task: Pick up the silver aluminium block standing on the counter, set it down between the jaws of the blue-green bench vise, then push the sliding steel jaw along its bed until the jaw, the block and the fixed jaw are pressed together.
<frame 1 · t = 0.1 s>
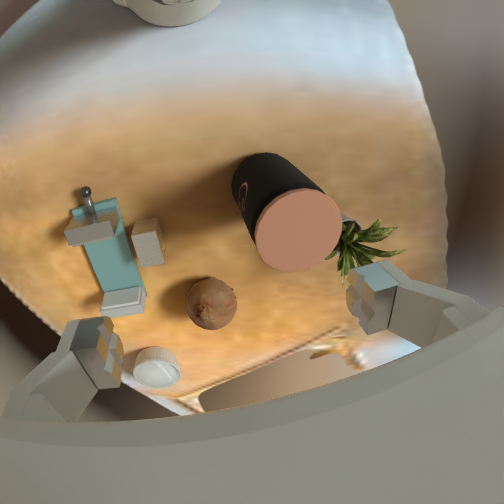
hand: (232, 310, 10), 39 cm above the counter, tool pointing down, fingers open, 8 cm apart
ramekin: (156, 357, 66), on the counter
coffee jar: (262, 181, 49), on the counter
onion: (208, 288, 58), on the counter
jaw: (88, 213, 41), point 4 cm above the counter, slide at 0.0 cm
block: (150, 234, 50), on the counter
vise: (111, 253, 50), on the counter
house plant: (331, 226, 57), on the counter
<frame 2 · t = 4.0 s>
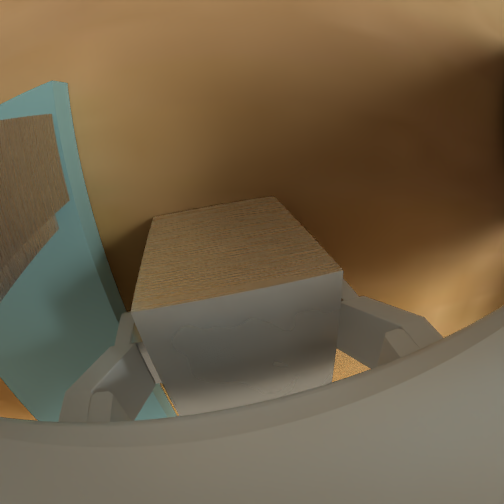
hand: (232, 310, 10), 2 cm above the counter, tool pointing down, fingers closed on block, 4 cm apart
block: (226, 283, 11), on the counter, touching gripper
vise: (60, 349, 11), on the counter
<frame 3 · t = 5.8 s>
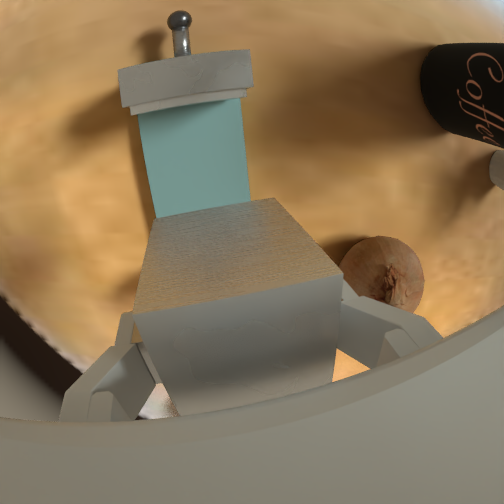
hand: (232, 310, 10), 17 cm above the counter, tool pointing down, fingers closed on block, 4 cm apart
coffee jar: (446, 87, 25), on the counter
onion: (360, 261, 33), on the counter
jaw: (182, 52, 16), point 4 cm above the counter, slide at 0.0 cm
block: (226, 284, 11), point 16 cm above the counter, touching gripper
vise: (197, 174, 25), on the counter
house plant: (496, 175, 32), on the counter
when the fingers open (4 cm above the counter, at t = 7.7 s): block drops 1 cm, resting on vise.
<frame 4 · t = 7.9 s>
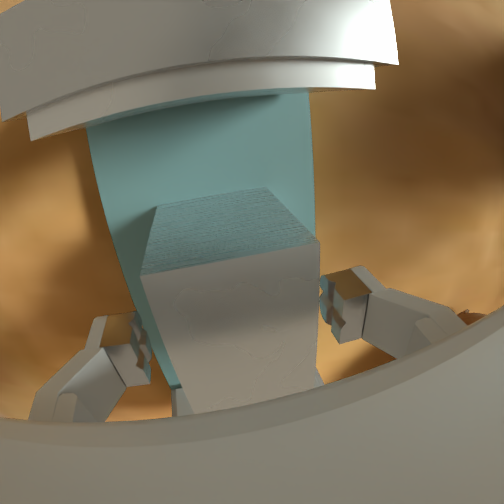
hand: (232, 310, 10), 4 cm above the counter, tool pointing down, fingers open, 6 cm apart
block: (223, 266, 12), point 1 cm above the counter, touching vise
vise: (216, 244, 13), on the counter
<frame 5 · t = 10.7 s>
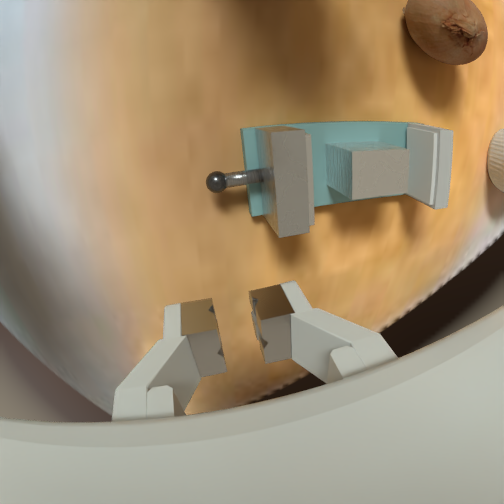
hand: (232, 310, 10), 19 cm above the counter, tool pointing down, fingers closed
ramekin: (499, 156, 33), on the counter
onion: (420, 28, 23), on the counter
jaw: (256, 181, 23), point 4 cm above the counter, slide at 0.0 cm
block: (353, 161, 27), point 1 cm above the counter, touching vise
vise: (343, 160, 28), on the counter
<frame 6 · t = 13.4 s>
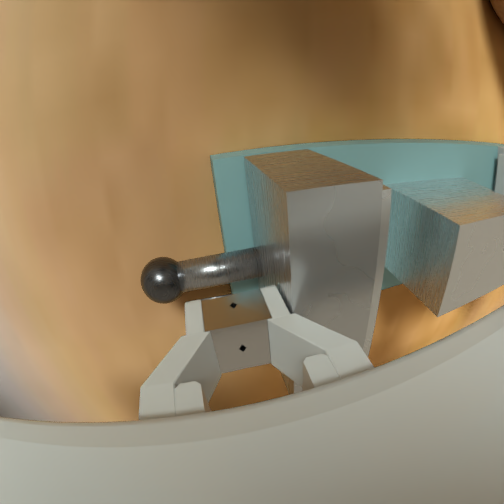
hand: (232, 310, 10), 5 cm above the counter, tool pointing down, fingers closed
onion: (498, 2, 9), on the counter
jaw: (247, 288, 10), point 4 cm above the counter, slide at 0.1 cm, touching gripper
block: (423, 215, 14), point 1 cm above the counter, touching vise
vise: (404, 210, 15), on the counter
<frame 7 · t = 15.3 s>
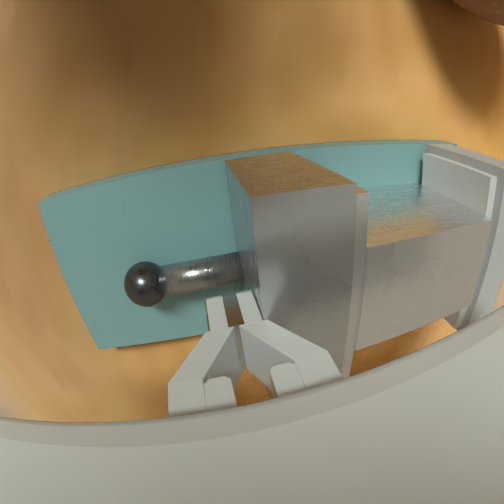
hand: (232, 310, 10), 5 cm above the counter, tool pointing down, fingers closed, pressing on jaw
jaw: (225, 294, 10), point 4 cm above the counter, slide at 6.9 cm, touching block, gripper
block: (365, 228, 13), point 1 cm above the counter, touching jaw, vise
vise: (277, 234, 14), on the counter
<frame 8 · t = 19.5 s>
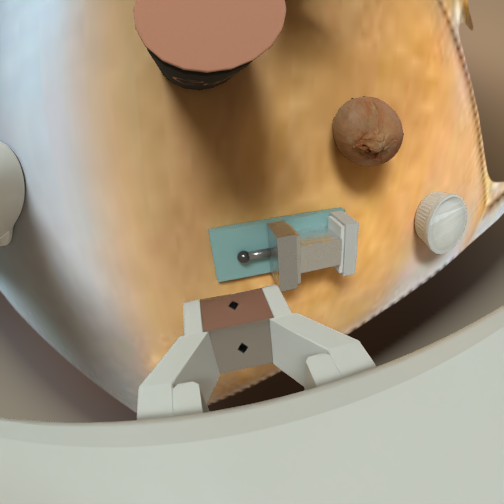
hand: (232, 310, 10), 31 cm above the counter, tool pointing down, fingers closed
ramekin: (430, 214, 49), on the counter
coffee jar: (199, 51, 31), on the counter
onion: (351, 127, 39), on the counter
jaw: (267, 258, 41), point 4 cm above the counter, slide at 6.9 cm, touching block
block: (308, 240, 44), point 1 cm above the counter, touching jaw, vise
vise: (280, 242, 45), on the counter
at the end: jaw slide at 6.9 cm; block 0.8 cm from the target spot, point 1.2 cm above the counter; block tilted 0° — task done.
